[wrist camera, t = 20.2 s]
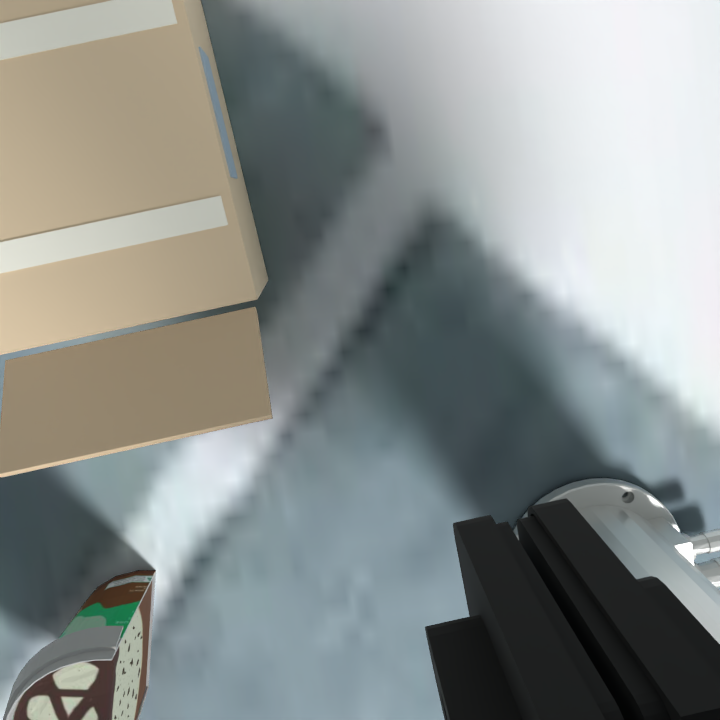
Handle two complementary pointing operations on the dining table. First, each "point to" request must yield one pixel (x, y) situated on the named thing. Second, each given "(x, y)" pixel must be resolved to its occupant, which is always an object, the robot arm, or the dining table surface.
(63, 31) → the carton
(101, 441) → the flap
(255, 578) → the dining table surface
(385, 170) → the dining table surface
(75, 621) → the food container
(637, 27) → the dining table surface
